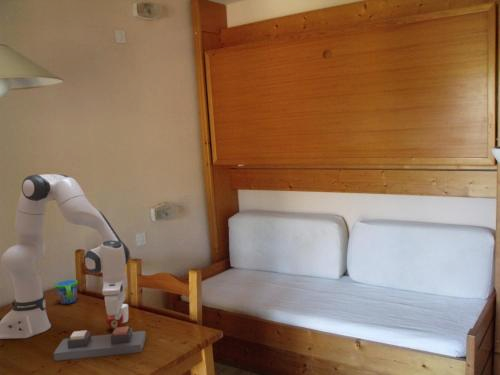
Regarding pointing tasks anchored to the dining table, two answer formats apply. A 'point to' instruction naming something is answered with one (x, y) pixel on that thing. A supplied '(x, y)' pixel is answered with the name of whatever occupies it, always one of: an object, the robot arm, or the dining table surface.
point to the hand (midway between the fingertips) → (118, 318)
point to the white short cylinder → (124, 312)
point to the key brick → (121, 331)
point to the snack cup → (67, 291)
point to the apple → (114, 321)
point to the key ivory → (79, 335)
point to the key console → (100, 345)
